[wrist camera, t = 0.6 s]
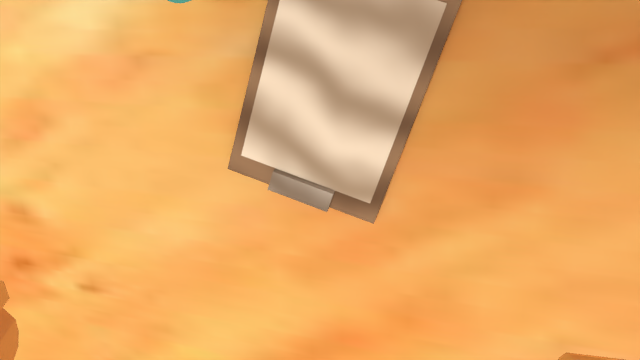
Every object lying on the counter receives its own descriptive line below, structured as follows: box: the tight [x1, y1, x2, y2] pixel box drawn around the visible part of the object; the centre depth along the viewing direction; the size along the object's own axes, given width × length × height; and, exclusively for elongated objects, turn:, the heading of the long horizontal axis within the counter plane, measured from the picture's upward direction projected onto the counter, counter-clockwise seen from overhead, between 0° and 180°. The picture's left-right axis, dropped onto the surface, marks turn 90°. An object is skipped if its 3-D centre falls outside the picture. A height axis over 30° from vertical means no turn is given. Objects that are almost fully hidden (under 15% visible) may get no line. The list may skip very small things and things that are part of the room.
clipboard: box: [228, 0, 462, 224], centre depth 51 cm, size 22×15×2 cm
